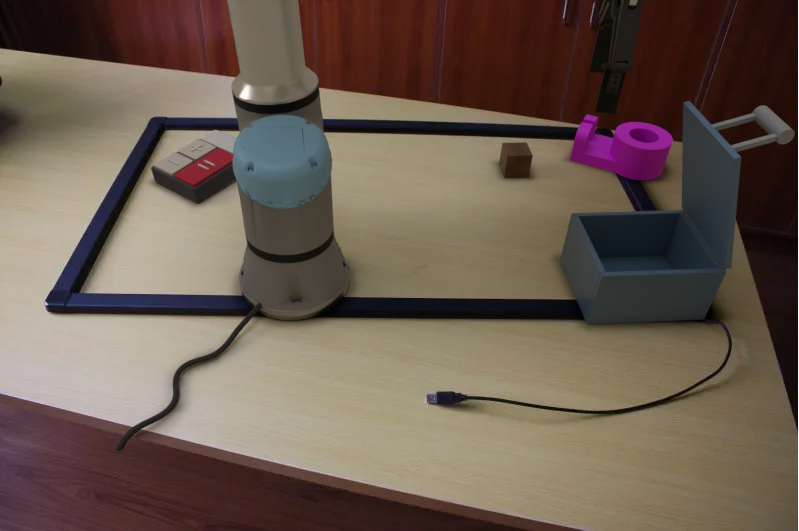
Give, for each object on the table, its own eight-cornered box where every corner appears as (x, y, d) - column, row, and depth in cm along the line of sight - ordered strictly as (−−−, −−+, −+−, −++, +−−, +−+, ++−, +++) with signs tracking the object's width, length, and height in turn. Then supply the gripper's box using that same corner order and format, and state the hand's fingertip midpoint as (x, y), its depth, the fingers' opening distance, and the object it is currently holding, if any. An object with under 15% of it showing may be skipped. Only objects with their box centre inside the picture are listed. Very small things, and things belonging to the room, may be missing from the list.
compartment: (586, 324, 87) (602, 276, 81) (559, 259, 97) (571, 212, 92) (703, 319, 89) (727, 271, 83) (664, 256, 99) (683, 209, 93)
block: (503, 177, 114) (507, 155, 111) (498, 164, 118) (502, 142, 115) (528, 177, 115) (532, 155, 112) (523, 163, 118) (526, 142, 115)
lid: (734, 158, 71) (816, 136, 70) (683, 102, 81) (754, 82, 80) (725, 269, 83) (795, 252, 81) (681, 207, 93) (743, 191, 92)
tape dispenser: (666, 160, 120) (677, 130, 116) (656, 186, 114) (667, 155, 109) (582, 138, 126) (589, 109, 121) (568, 162, 119) (575, 131, 115)
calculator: (148, 163, 108) (215, 125, 116) (154, 184, 110) (219, 145, 119) (193, 186, 103) (259, 144, 112) (198, 207, 106) (262, 164, 115)
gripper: (602, -91, 91) (572, 54, 105) (619, -41, 72) (579, 128, 86) (657, -88, 90) (619, 59, 104) (688, -36, 71) (636, 134, 85)
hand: (601, 90), depth 95 cm, fingers open, 13 cm apart
